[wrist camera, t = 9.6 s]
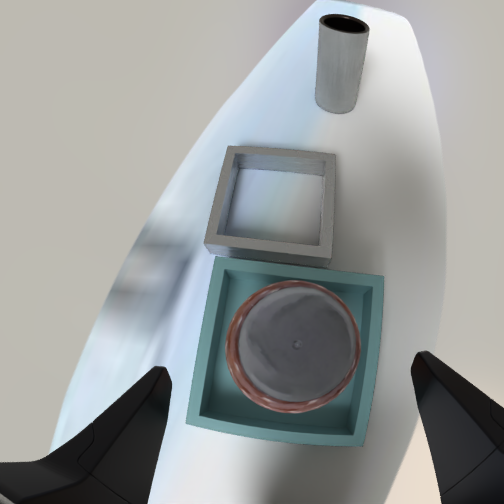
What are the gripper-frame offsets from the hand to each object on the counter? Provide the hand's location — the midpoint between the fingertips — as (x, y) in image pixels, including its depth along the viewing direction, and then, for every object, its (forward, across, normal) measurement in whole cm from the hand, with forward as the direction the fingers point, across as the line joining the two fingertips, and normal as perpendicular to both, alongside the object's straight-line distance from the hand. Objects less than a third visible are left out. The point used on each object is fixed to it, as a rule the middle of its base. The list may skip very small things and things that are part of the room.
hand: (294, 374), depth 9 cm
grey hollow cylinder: (+26, -7, -10) cm, 29 cm away
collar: (+17, 0, -1) cm, 17 cm away
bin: (+9, 0, +8) cm, 11 cm away
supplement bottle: (+8, 0, +7) cm, 11 cm away
